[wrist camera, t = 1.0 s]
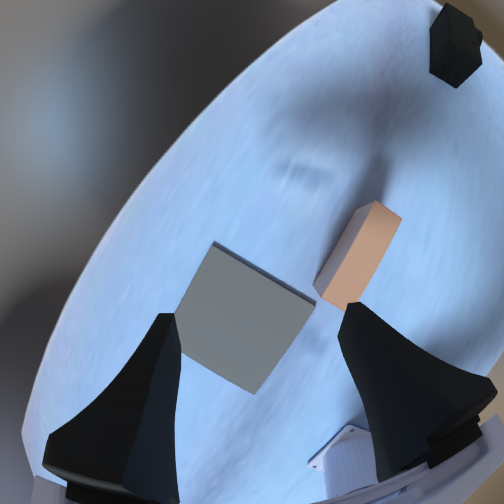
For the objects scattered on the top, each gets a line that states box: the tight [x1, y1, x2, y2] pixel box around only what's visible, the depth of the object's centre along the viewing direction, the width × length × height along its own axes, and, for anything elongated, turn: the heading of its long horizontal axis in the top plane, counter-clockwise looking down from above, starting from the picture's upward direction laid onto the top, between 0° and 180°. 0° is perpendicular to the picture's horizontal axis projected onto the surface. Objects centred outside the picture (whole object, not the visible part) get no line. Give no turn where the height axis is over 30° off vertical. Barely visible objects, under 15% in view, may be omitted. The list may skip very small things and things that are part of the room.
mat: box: [175, 245, 316, 395], centre depth 25 cm, size 11×11×1 cm
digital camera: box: [429, 3, 483, 88], centre depth 18 cm, size 10×5×7 cm, turn 160°
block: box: [313, 200, 402, 311], centre depth 21 cm, size 3×8×6 cm, turn 150°
